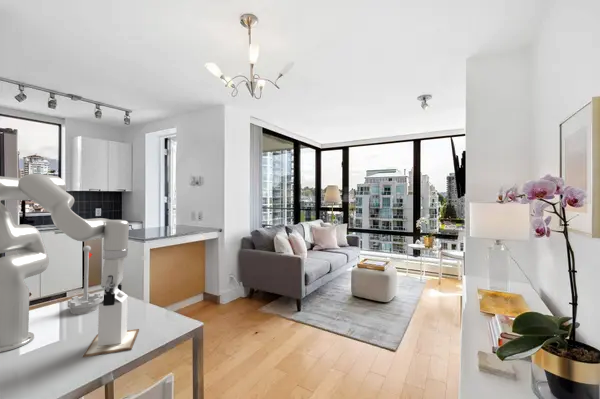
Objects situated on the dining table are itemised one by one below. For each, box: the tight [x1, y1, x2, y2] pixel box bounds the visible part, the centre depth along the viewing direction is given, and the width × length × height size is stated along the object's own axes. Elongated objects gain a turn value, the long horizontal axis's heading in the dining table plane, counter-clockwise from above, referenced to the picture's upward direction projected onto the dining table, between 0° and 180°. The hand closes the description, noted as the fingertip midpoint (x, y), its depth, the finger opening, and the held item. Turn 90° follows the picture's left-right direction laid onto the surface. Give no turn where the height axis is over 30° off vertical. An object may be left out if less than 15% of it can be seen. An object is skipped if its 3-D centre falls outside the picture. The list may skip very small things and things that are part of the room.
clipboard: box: [82, 328, 140, 358], centre depth 100 cm, size 14×15×1 cm
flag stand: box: [67, 245, 104, 315], centre depth 129 cm, size 13×13×30 cm
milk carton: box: [97, 286, 129, 346], centre depth 100 cm, size 7×7×19 cm
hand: (112, 300), depth 100 cm, fingers open, 9 cm apart
